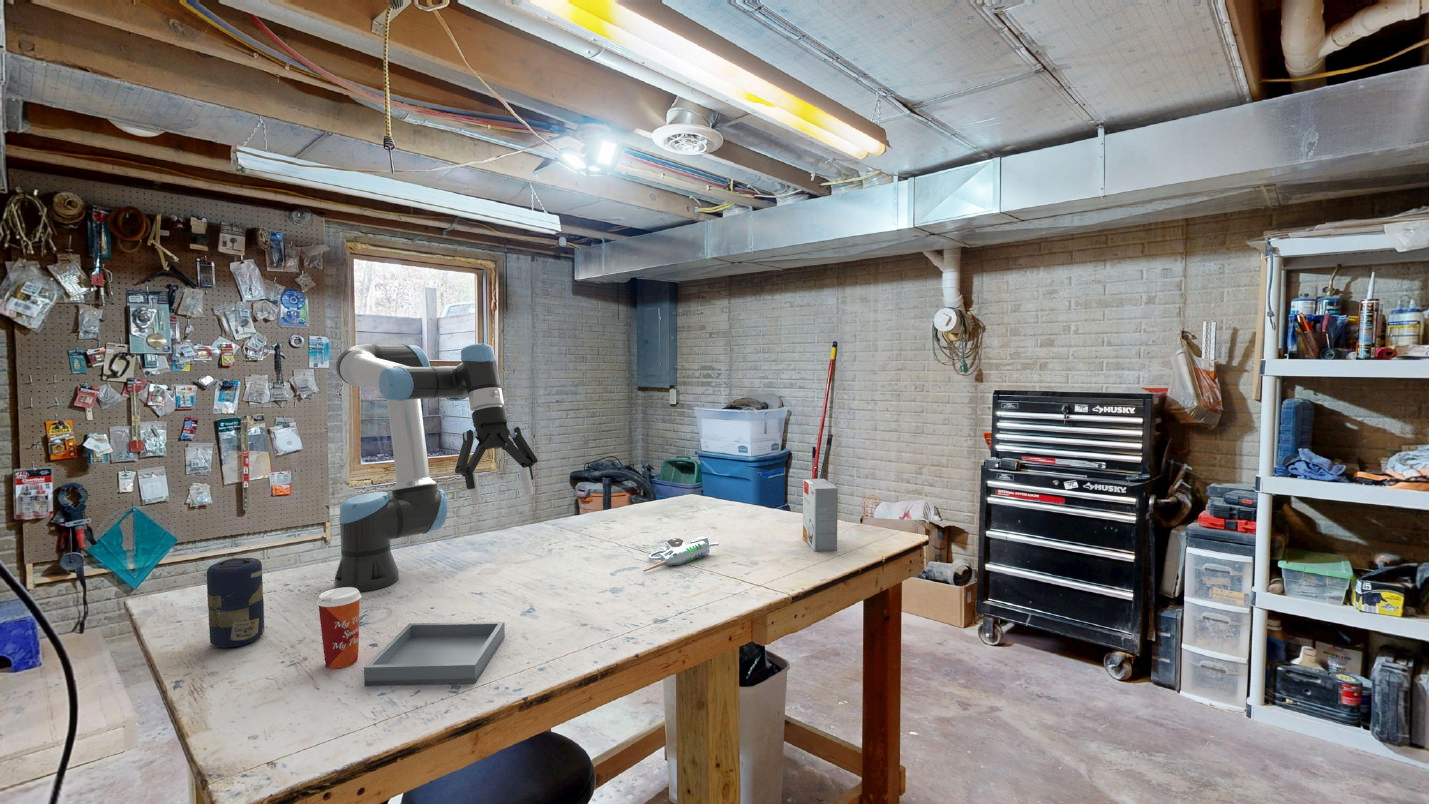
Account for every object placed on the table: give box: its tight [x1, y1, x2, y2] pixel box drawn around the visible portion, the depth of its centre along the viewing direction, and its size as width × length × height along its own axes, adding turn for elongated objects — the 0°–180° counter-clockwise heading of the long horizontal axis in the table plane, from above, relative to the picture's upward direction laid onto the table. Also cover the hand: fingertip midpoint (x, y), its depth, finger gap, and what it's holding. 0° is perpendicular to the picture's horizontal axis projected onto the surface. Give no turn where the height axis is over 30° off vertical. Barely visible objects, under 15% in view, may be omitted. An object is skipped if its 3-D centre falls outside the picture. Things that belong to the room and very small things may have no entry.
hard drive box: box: [802, 478, 839, 552], centre depth 212 cm, size 16×8×20 cm, turn 6°
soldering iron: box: [642, 536, 720, 572], centre depth 197 cm, size 6×28×16 cm
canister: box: [206, 557, 265, 648], centre depth 139 cm, size 10×10×18 cm
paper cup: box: [316, 587, 362, 670], centre depth 130 cm, size 8×8×14 cm
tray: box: [363, 621, 506, 687], centre depth 131 cm, size 20×20×4 cm
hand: (504, 499), depth 151 cm, fingers open, 13 cm apart
